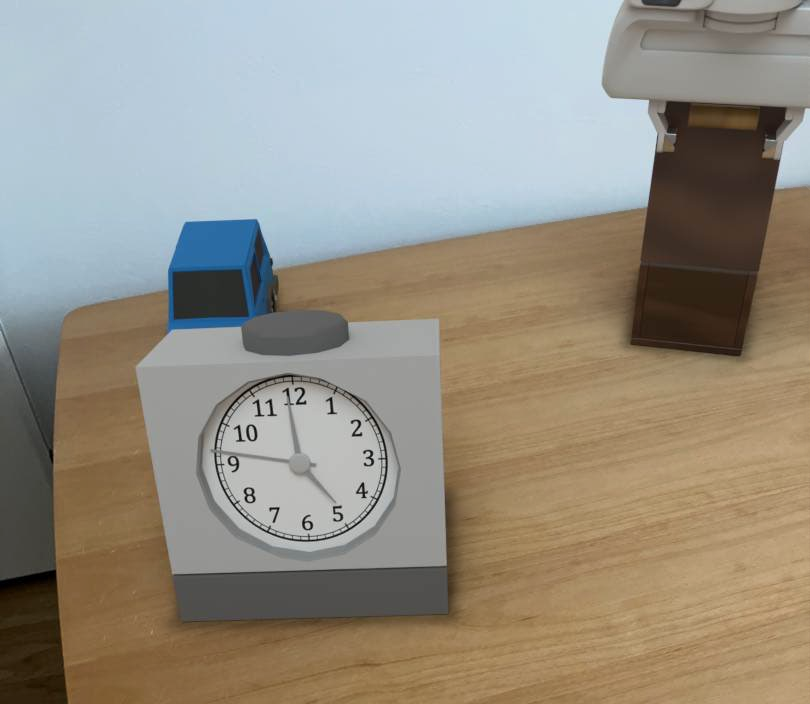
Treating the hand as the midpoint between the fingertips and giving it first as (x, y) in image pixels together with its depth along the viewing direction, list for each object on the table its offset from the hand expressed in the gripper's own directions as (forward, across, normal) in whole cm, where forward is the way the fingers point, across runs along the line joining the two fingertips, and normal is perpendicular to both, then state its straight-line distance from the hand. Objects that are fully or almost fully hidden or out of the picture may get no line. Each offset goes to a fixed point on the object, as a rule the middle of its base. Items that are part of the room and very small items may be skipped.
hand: (717, 153), depth 85 cm
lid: (+3, 0, -3) cm, 4 cm away
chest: (+20, 0, -8) cm, 21 cm away
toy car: (+20, +45, +9) cm, 50 cm away
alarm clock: (+20, +26, +34) cm, 47 cm away
